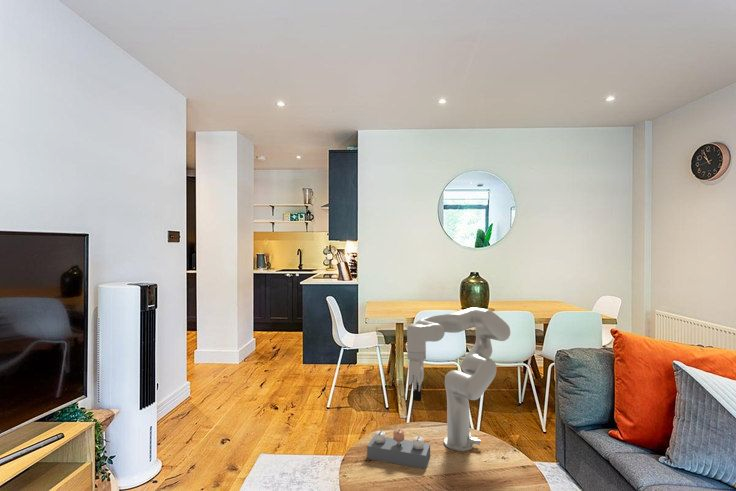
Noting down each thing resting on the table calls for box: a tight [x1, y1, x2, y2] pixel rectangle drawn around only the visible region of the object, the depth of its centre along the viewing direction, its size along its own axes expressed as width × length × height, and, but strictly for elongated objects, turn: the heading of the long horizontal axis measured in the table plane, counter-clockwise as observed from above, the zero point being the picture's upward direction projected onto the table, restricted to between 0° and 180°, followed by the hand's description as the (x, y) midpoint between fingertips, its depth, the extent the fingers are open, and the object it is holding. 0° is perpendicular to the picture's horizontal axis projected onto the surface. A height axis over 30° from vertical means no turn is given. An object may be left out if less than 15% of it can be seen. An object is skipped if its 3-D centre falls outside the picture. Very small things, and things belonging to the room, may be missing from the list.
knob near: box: [412, 436, 425, 449], centre depth 154 cm, size 4×4×6 cm
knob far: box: [374, 430, 386, 443], centre depth 159 cm, size 4×4×6 cm
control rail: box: [366, 434, 431, 470], centre depth 157 cm, size 24×10×5 cm, turn 71°
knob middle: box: [392, 428, 405, 446], centre depth 157 cm, size 4×4×6 cm
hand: (417, 400), depth 156 cm, fingers closed
